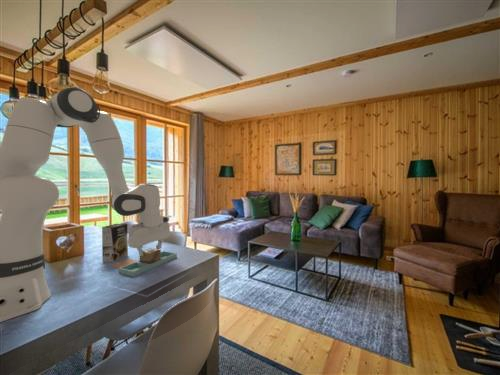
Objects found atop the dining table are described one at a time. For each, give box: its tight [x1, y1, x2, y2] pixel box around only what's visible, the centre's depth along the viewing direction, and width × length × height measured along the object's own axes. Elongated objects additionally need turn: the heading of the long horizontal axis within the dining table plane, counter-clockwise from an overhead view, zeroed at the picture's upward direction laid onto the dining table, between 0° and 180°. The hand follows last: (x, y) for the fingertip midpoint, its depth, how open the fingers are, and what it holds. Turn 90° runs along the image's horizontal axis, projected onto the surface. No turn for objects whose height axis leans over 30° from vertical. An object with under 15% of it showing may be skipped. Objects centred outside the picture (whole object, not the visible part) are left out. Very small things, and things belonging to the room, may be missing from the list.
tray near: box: [118, 262, 151, 278], centre depth 96 cm, size 8×8×2 cm
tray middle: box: [137, 258, 165, 270], centre depth 103 cm, size 8×8×2 cm
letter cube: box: [139, 247, 162, 264], centre depth 103 cm, size 6×6×6 cm
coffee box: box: [101, 223, 129, 263], centre depth 110 cm, size 9×6×16 cm
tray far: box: [161, 250, 178, 264], centre depth 110 cm, size 8×8×2 cm
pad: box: [111, 258, 139, 269], centre depth 103 cm, size 9×9×1 cm
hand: (150, 251), depth 104 cm, fingers open, 8 cm apart
